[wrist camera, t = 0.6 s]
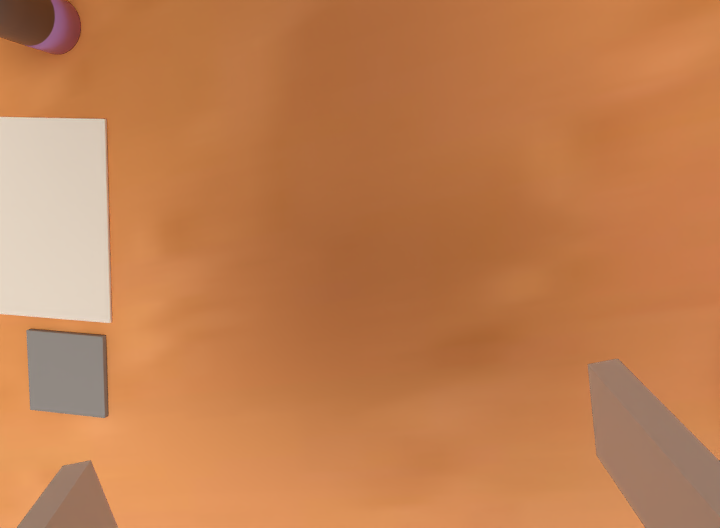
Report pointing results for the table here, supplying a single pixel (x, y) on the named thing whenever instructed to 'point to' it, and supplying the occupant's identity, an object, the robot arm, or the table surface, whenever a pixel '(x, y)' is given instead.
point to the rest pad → (67, 372)
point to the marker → (40, 24)
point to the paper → (54, 219)
